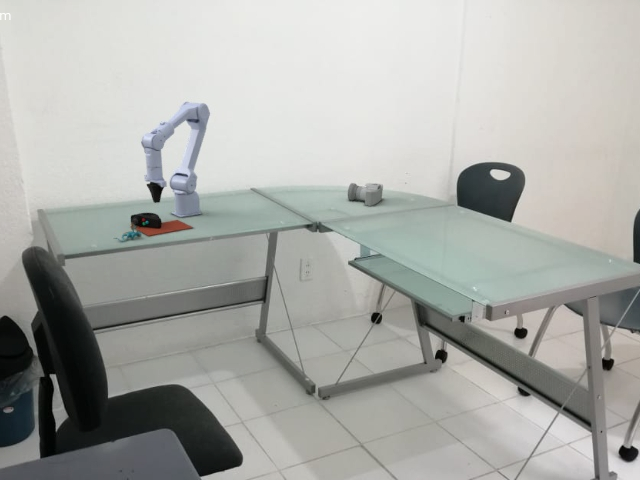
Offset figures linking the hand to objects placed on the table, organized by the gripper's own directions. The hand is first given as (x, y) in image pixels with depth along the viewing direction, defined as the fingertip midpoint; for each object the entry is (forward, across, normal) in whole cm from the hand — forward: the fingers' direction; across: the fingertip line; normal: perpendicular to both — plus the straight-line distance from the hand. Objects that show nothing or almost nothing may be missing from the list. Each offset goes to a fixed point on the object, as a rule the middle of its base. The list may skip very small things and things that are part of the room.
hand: (156, 202), depth 230 cm
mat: (+8, +8, -2) cm, 12 cm away
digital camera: (+8, +20, +92) cm, 95 cm away
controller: (+6, 0, -1) cm, 6 cm away
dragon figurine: (+8, +14, -18) cm, 24 cm away
